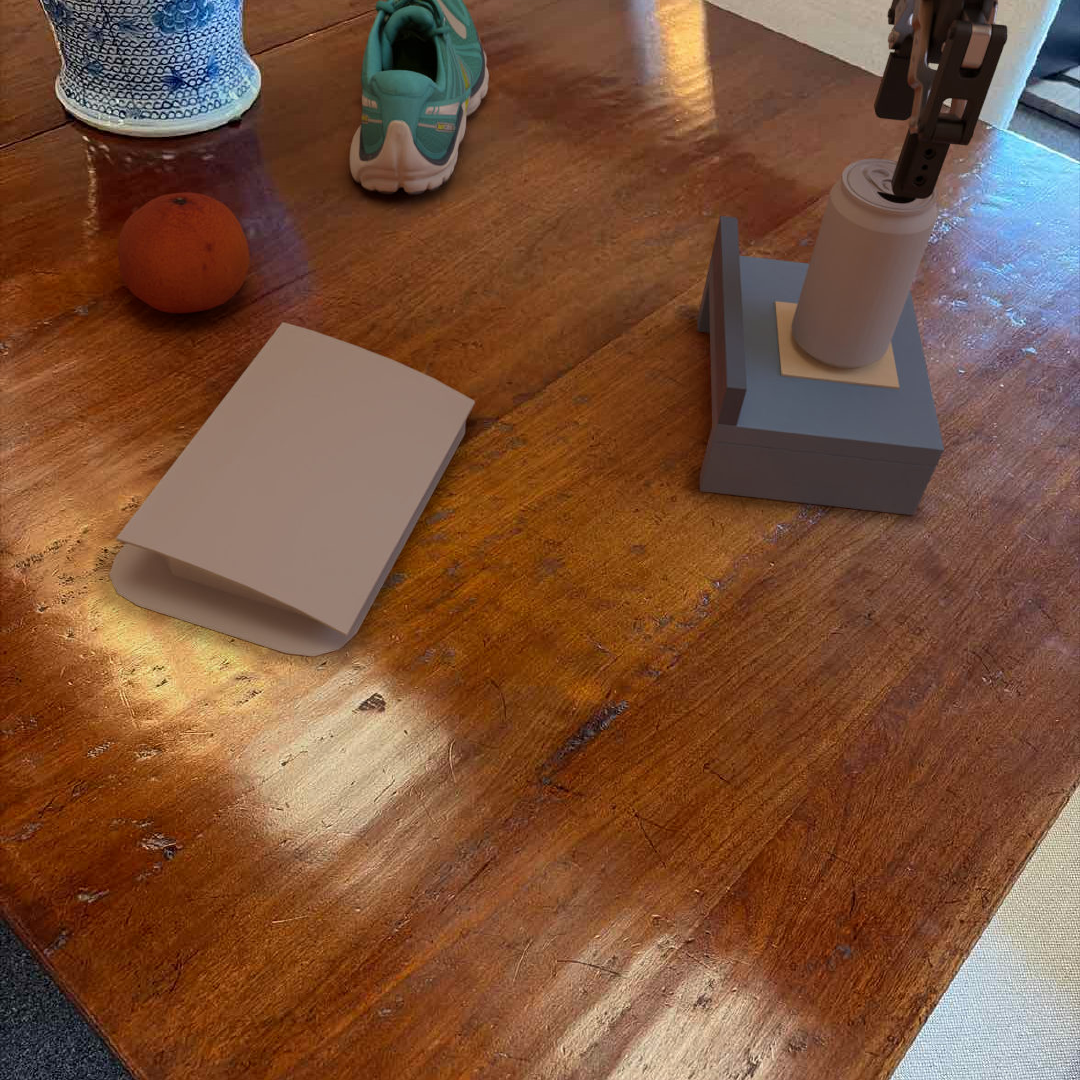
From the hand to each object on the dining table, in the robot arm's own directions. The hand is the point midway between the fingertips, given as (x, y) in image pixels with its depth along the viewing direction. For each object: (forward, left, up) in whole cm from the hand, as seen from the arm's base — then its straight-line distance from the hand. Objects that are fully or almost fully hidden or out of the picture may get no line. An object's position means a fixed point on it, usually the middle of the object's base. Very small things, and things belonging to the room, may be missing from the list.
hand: (899, 153), depth 68 cm
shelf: (+1, 0, -20) cm, 20 cm away
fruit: (+45, -5, -20) cm, 50 cm away
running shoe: (+32, -33, -20) cm, 50 cm away
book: (+33, +13, -20) cm, 41 cm away
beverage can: (0, 0, -14) cm, 14 cm away
